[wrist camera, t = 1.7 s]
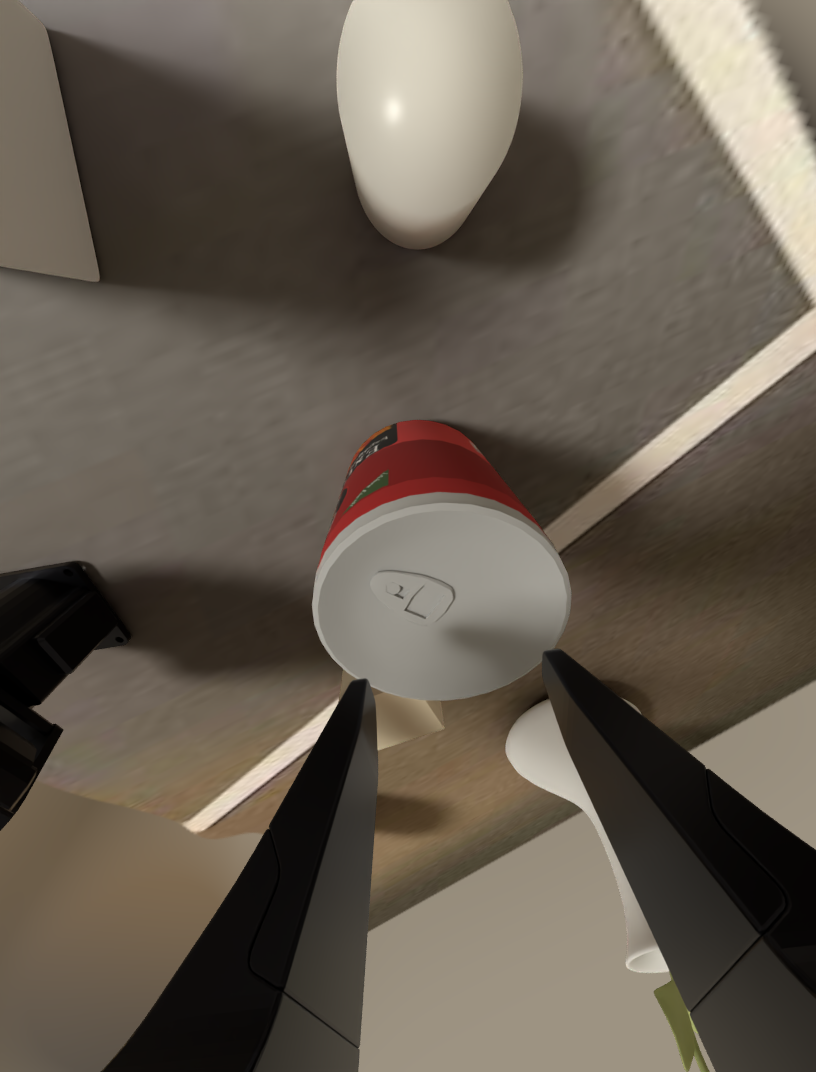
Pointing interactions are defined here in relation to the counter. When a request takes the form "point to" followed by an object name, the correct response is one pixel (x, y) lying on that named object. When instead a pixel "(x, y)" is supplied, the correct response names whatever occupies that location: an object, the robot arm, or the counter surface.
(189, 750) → the counter surface
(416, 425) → the canned food
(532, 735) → the flower in vase
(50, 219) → the milk carton
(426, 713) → the birch block
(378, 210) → the off-white smooth rounded part
